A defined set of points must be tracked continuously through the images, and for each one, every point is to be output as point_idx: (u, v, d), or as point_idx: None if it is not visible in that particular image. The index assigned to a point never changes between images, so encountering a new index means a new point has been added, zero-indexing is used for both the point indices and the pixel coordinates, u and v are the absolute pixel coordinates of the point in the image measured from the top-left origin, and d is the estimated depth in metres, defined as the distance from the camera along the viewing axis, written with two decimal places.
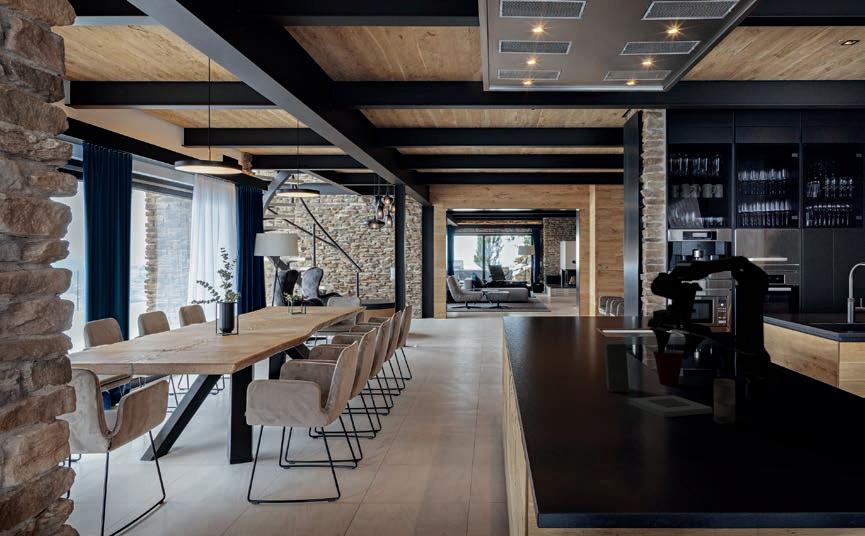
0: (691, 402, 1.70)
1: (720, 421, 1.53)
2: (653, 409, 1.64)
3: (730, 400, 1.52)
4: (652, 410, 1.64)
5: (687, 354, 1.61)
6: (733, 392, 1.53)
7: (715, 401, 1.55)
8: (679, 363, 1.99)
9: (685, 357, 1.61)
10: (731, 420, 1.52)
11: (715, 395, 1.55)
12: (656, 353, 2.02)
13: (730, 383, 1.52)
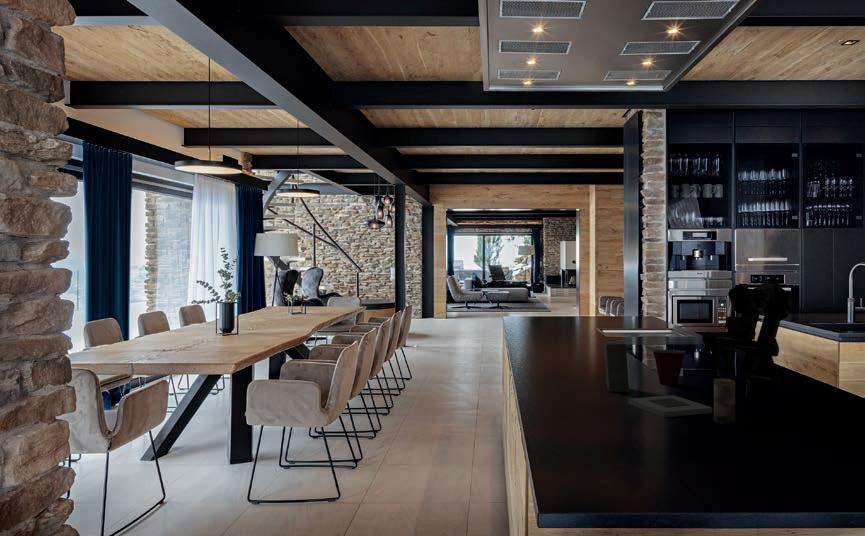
0: (691, 402, 1.70)
1: (720, 421, 1.53)
2: (653, 409, 1.64)
3: (730, 400, 1.52)
4: (652, 410, 1.64)
5: (754, 365, 1.58)
6: (733, 392, 1.53)
7: (715, 401, 1.55)
8: (679, 363, 1.99)
9: (752, 367, 1.58)
10: (731, 420, 1.52)
11: (715, 395, 1.55)
12: (656, 353, 2.02)
13: (730, 383, 1.52)
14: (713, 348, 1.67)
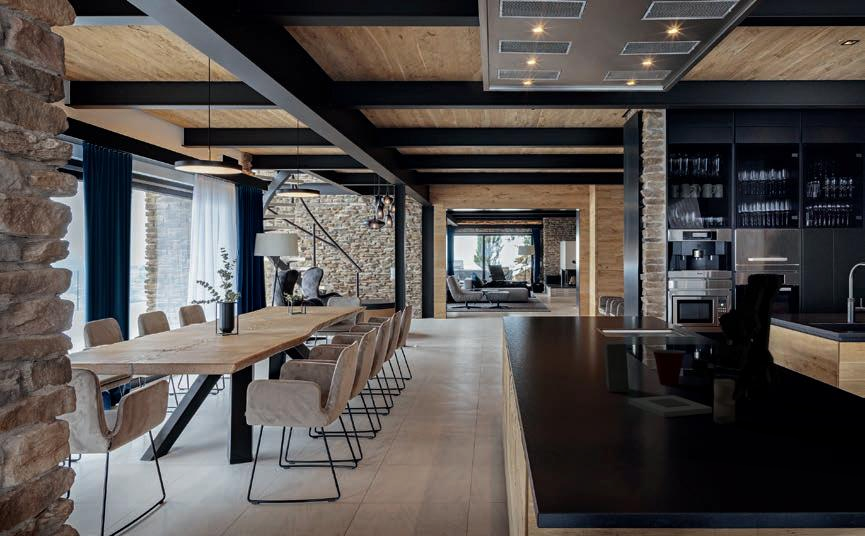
0: (691, 402, 1.70)
1: (720, 421, 1.53)
2: (653, 409, 1.64)
3: (730, 400, 1.52)
4: (652, 410, 1.64)
5: (737, 394, 1.52)
6: (733, 392, 1.53)
7: (715, 401, 1.55)
8: (679, 363, 1.99)
9: (735, 397, 1.52)
10: (730, 419, 1.52)
11: (715, 395, 1.55)
12: (656, 353, 2.02)
13: (730, 383, 1.52)
14: (710, 377, 1.58)
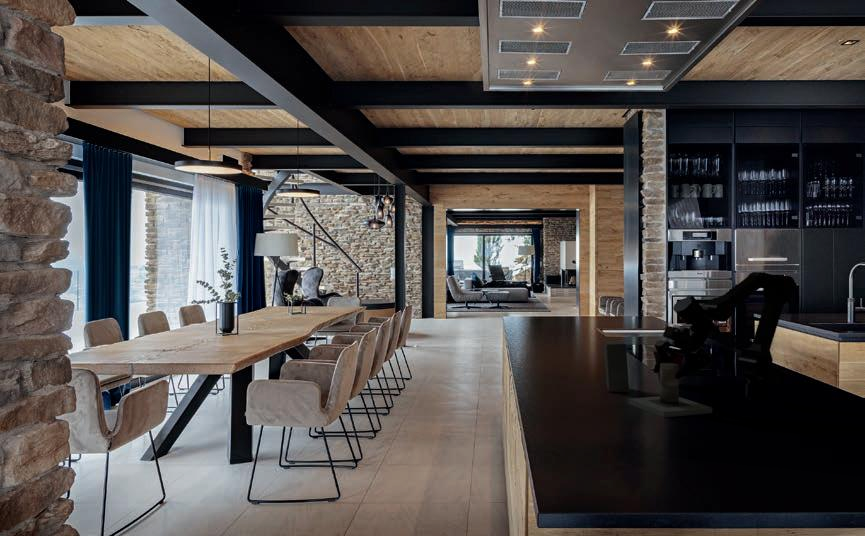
0: (691, 402, 1.70)
1: (661, 400, 1.69)
2: (653, 409, 1.64)
3: (669, 382, 1.67)
4: (652, 410, 1.64)
5: (679, 374, 1.64)
6: (673, 375, 1.67)
7: (660, 382, 1.71)
8: (679, 363, 1.99)
9: (677, 376, 1.64)
10: (669, 400, 1.67)
11: (660, 377, 1.71)
12: (656, 353, 2.02)
13: (669, 366, 1.67)
14: (658, 356, 1.75)
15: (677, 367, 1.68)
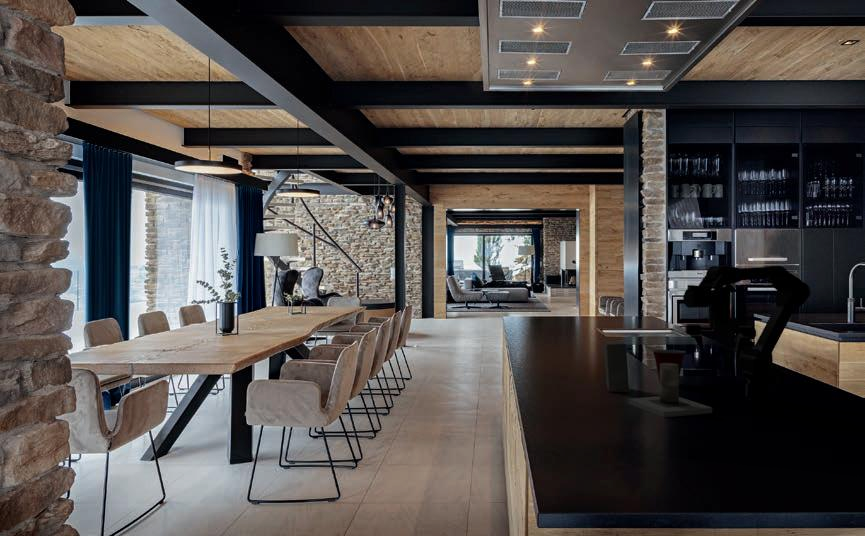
0: (691, 402, 1.70)
1: (661, 400, 1.69)
2: (653, 409, 1.64)
3: (669, 382, 1.67)
4: (652, 410, 1.64)
5: None
6: (673, 375, 1.67)
7: (660, 382, 1.71)
8: (679, 363, 1.99)
9: None
10: (669, 400, 1.67)
11: (660, 377, 1.71)
12: (656, 353, 2.02)
13: (669, 366, 1.67)
14: (699, 342, 1.77)
15: (677, 367, 1.68)
